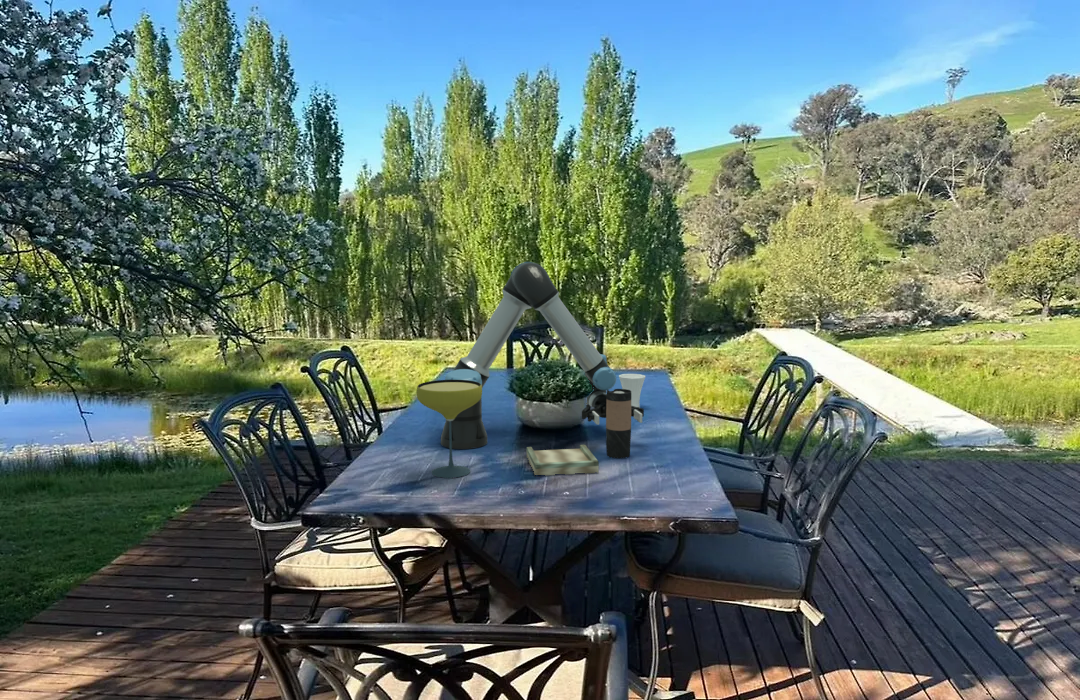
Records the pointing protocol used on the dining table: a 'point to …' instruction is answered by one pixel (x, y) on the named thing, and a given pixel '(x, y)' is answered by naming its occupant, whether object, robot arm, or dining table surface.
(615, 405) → the travel mug
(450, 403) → the cocktail glass
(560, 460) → the tray
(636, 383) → the cup
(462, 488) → the dining table surface
